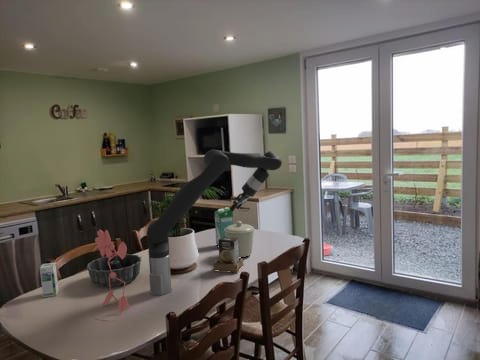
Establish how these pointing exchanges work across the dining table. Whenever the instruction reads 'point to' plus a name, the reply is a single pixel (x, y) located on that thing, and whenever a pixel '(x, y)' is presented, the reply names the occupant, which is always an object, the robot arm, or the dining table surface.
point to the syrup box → (49, 279)
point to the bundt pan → (114, 270)
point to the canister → (241, 237)
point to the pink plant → (105, 248)
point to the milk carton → (222, 222)
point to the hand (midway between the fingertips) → (234, 209)
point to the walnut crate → (228, 266)
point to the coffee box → (228, 250)
